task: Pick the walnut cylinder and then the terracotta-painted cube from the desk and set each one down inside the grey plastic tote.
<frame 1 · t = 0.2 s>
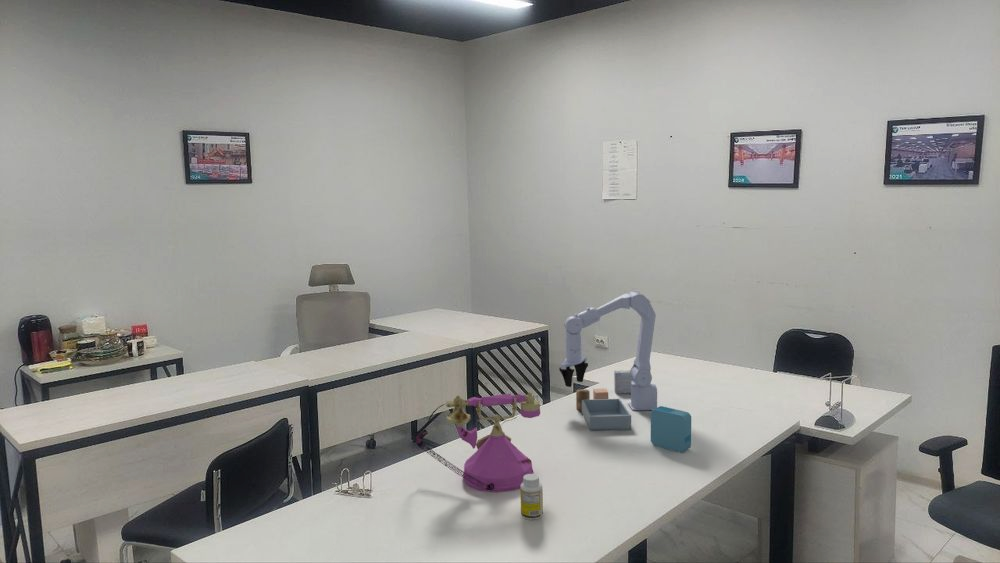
hand: (574, 384, 242), 10 cm above the table, tool pointing down, fingers open, 7 cm apart
supplement bottle: (531, 516, 161), on the table
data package: (670, 447, 204), on the table
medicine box: (624, 392, 263), on the table
terracotta cube: (600, 403, 250), on the table
telephone: (481, 480, 183), on the table
walnut cylinder: (583, 409, 243), on the table
tote: (605, 420, 229), on the table
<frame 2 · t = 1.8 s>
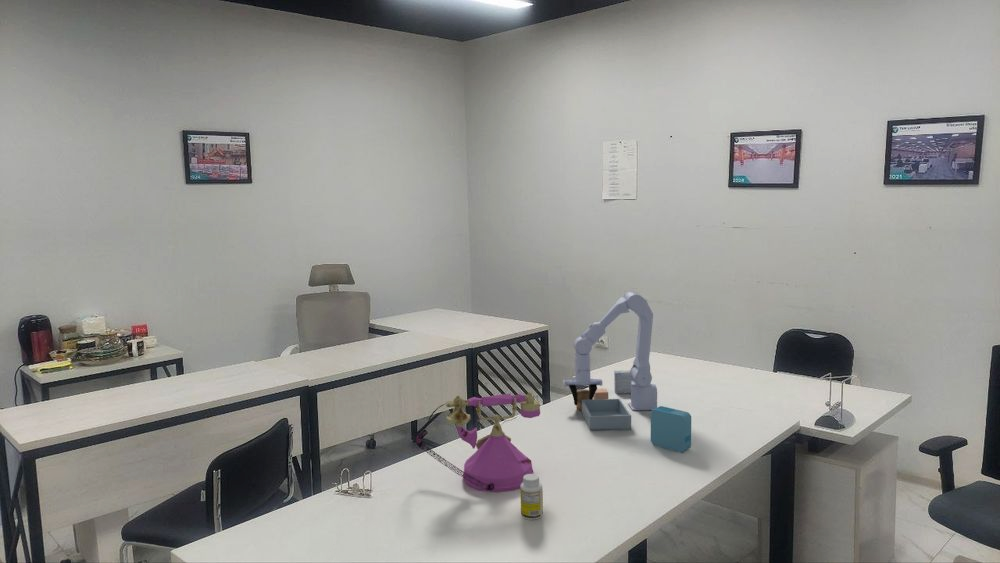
hand: (583, 404, 243), 2 cm above the table, tool pointing down, fingers closed on walnut cylinder, 5 cm apart
walnut cylinder: (583, 409, 243), on the table, touching gripper
everything else where it was.
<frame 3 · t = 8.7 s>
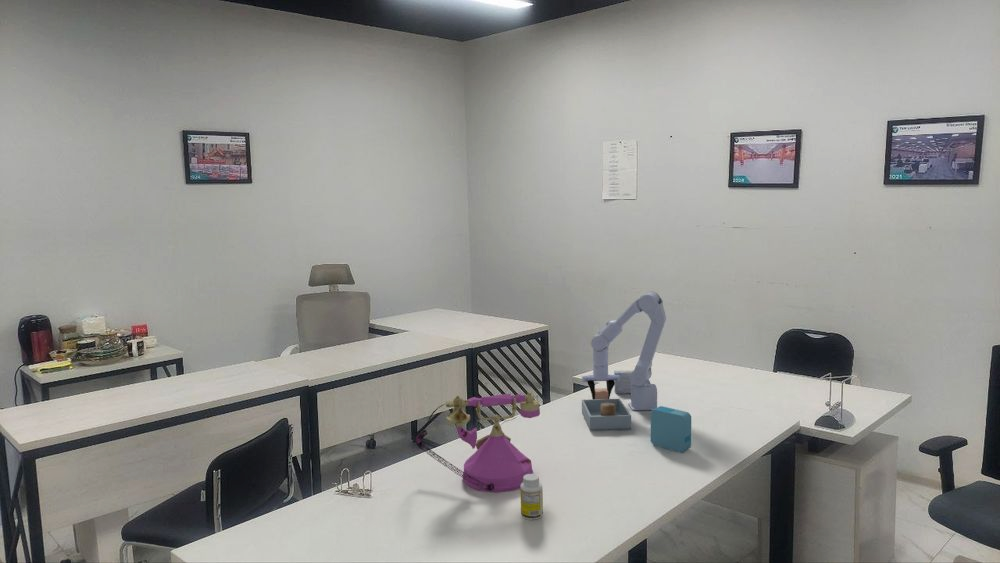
hand: (600, 399, 250), 1 cm above the table, tool pointing down, fingers closed on terracotta cube, 5 cm apart
terracotta cube: (600, 402, 250), on the table, touching gripper
walnut cylinder: (608, 424, 224), point 1 cm above the table, touching tote
everything else where it was.
when the fingers open (4 cm above the table, at t = 12.8 s): terracotta cube drops 2 cm, resting on tote.
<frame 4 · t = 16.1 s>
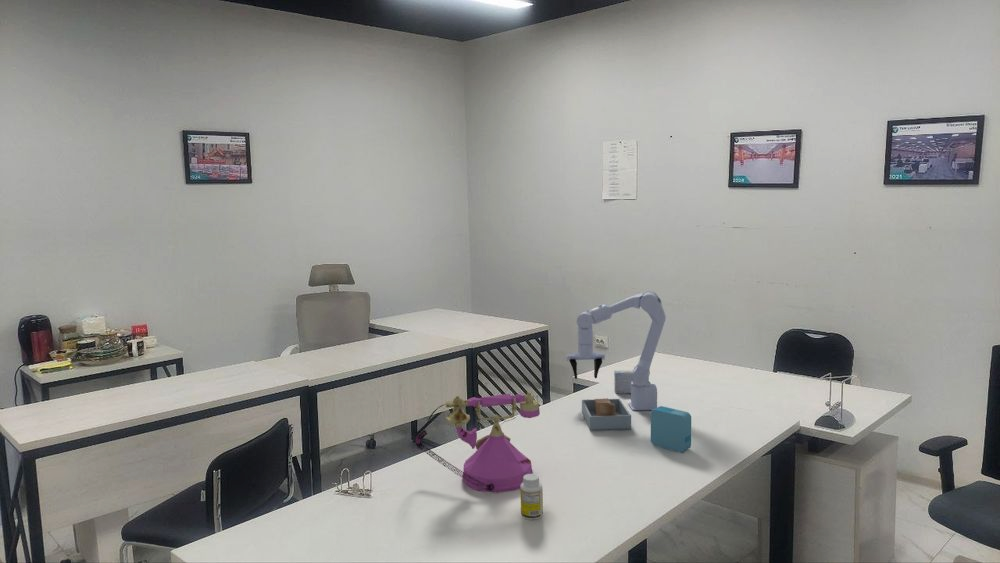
hand: (585, 377, 248), 10 cm above the table, tool pointing down, fingers open, 7 cm apart
terracotta cube: (602, 413, 235), point 1 cm above the table, touching tote
everything else where it was.
at the end: walnut cylinder inside the target area on the tote (5.2 cm from its centre), point 0.6 cm above the tote's base; terracotta cube inside the target area on the tote (5.9 cm from its centre), point 0.6 cm above the tote's base; the gripper is holding nothing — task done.
